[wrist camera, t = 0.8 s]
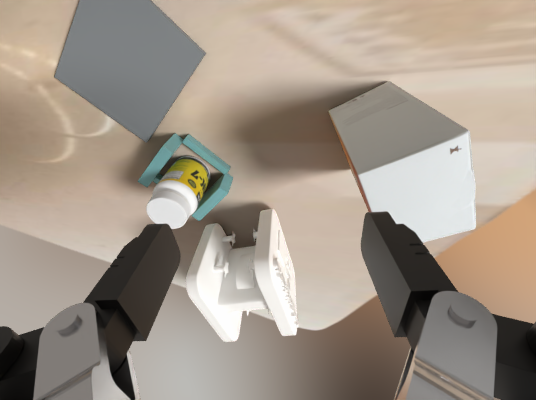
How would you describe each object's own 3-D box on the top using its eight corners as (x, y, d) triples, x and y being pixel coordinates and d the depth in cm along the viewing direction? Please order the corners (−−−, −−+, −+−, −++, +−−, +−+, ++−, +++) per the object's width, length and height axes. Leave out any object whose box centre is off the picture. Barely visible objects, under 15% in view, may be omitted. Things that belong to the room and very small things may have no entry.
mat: (100, -48, 19) (96, -50, 19) (206, 53, 23) (204, 54, 22) (58, 75, 25) (54, 76, 24) (148, 140, 29) (146, 142, 28)
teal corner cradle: (179, 126, 27) (167, 139, 25) (238, 172, 30) (233, 188, 28) (147, 171, 31) (133, 186, 28) (202, 208, 34) (195, 225, 31)
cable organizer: (205, 211, 35) (175, 282, 25) (277, 199, 33) (274, 271, 23) (238, 276, 43) (226, 347, 34) (298, 269, 41) (302, 343, 32)
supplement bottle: (215, 185, 32) (197, 230, 25) (181, 189, 33) (154, 234, 26) (204, 152, 29) (179, 192, 22) (167, 157, 30) (132, 197, 23)
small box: (326, 110, 25) (355, 173, 15) (390, 79, 23) (474, 127, 13) (350, 171, 30) (385, 255, 19) (406, 149, 27) (480, 229, 17)
